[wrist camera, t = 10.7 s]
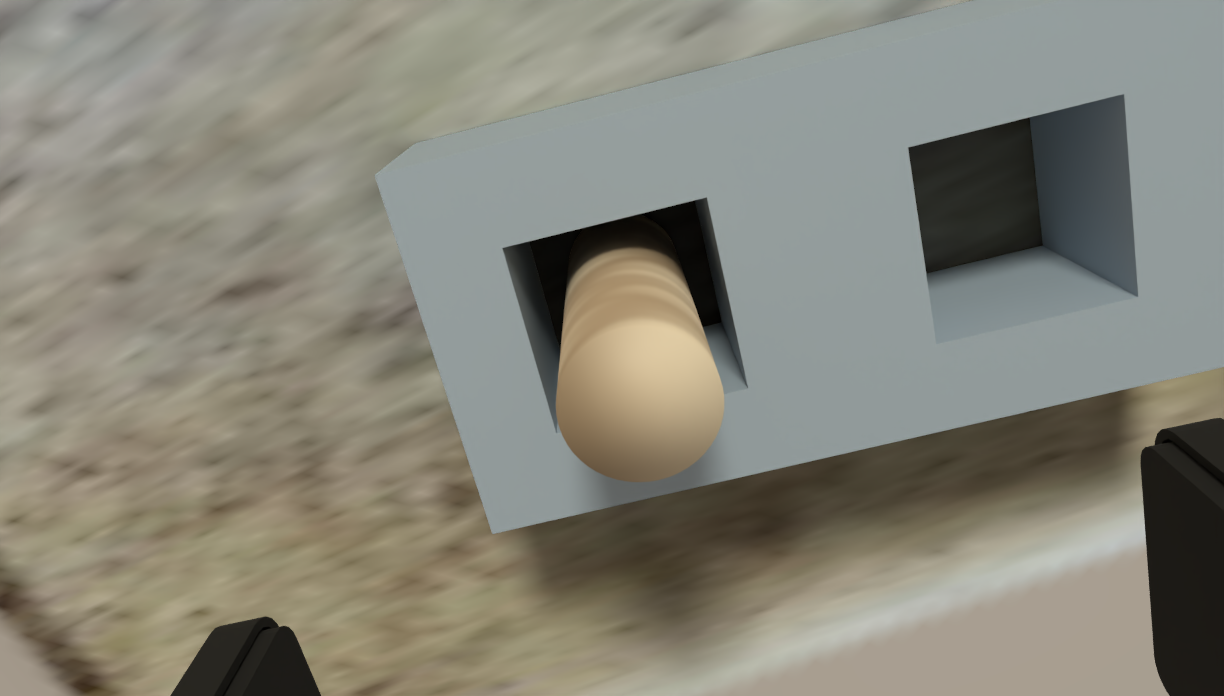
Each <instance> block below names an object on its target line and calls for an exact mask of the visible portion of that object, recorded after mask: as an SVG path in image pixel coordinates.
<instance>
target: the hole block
mask: <svg viewBox="0 0 1224 696" xmlns="http://www.w3.org/2000/svg"><path fill="white" fill-rule="evenodd" d="M1029 117H1030V126H1031V135H1032V145H1033V155H1034V165H1035V175H1036V184H1037V194H1038V204H1039V214H1040V224H1041V234H1042V243H1043V246H1039V247H1035V248H1030V249H1026V250H1022V251H1018V252H1014V253H1009V254H1005V255H1001V256H997V257H993V258H989V259H984V260H980V261H976V262H972V263H968V264H964V265H959V266H955V267H951V268H947V269H943V270H938V271H934V272H930V273H926V268H925V261H924V255H923V248H922V241H921V234H920V227H919V220H918V213H917V206H916V199H915V192H914V185H913V178H912V171H911V165H910V158H909V151H908V147H912V146H916V145H920V144H924V143H928V142H932V141H936V140H940V139H944V138H948V137H952V136H956V135H960V134H964V133H968V132H972V131H976V130H980V129H984V128H989V127H993V126H997V125H1001V124H1005V123H1009V122H1013V121H1017V120H1021V119H1025V118H1029ZM375 178H376V181H377V184H378V187H379V190H380V193H381V196H382V199H383V202H384V205H385V208H386V211H387V214H388V218H389V221H390V224H391V227H392V230H393V233H394V236H395V239H396V242H397V245H398V248H399V251H400V254H401V257H402V260H403V263H404V266H405V269H406V272H407V275H408V278H409V281H410V284H411V288H412V291H413V294H414V297H415V300H416V303H417V306H418V309H419V312H420V315H421V318H422V321H423V324H424V327H425V330H426V333H427V336H428V339H429V342H430V345H431V348H432V351H433V354H434V357H435V361H436V364H437V367H438V370H439V373H440V376H441V379H442V382H443V385H444V388H445V391H446V394H447V397H448V400H449V403H450V406H451V409H452V412H453V415H454V418H455V421H456V424H457V427H458V431H459V434H460V437H461V440H462V443H463V446H464V449H465V452H466V455H467V458H468V461H469V464H470V467H471V470H472V473H473V476H474V479H475V482H476V485H477V488H478V491H479V494H480V497H481V500H482V504H483V507H484V510H485V513H486V516H487V519H488V522H489V525H490V528H491V531H492V534H495V533H499V532H504V531H508V530H512V529H517V528H521V527H526V526H530V525H534V524H539V523H543V522H547V521H552V520H556V519H561V518H565V517H569V516H574V515H578V514H582V513H587V512H591V511H596V510H600V509H604V508H609V507H613V506H617V505H622V504H626V503H631V502H635V501H639V500H644V499H648V498H652V497H657V496H661V495H665V494H670V493H674V492H679V491H683V490H687V489H692V488H696V487H700V486H705V485H709V484H714V483H718V482H722V481H727V480H731V479H735V478H740V477H744V476H749V475H753V474H757V473H762V472H766V471H770V470H775V469H779V468H784V467H788V466H792V465H797V464H801V463H805V462H810V461H814V460H819V459H823V458H827V457H832V456H836V455H840V454H845V453H849V452H854V451H858V450H862V449H867V448H871V447H875V446H880V445H884V444H889V443H893V442H897V441H902V440H906V439H910V438H915V437H919V436H924V435H928V434H932V433H937V432H941V431H945V430H950V429H954V428H959V427H963V426H967V425H972V424H976V423H980V422H985V421H989V420H994V419H998V418H1002V417H1007V416H1011V415H1015V414H1020V413H1024V412H1028V411H1033V410H1037V409H1042V408H1046V407H1050V406H1055V405H1059V404H1063V403H1068V402H1072V401H1077V400H1081V399H1085V398H1090V397H1094V396H1098V395H1103V394H1107V393H1112V392H1116V391H1120V390H1125V389H1129V388H1133V387H1138V386H1142V385H1147V384H1151V383H1155V382H1160V381H1164V380H1168V379H1173V378H1177V377H1182V376H1186V375H1190V374H1195V373H1199V372H1203V371H1208V370H1212V369H1217V368H1221V367H1224V0H972V1H968V2H964V3H961V4H957V5H953V6H949V7H945V8H941V9H937V10H933V11H929V12H925V13H922V14H918V15H914V16H910V17H906V18H902V19H898V20H894V21H890V22H886V23H883V24H879V25H875V26H871V27H867V28H863V29H859V30H855V31H851V32H847V33H844V34H840V35H836V36H832V37H828V38H824V39H820V40H816V41H812V42H808V43H805V44H801V45H797V46H793V47H789V48H785V49H781V50H777V51H773V52H769V53H766V54H762V55H758V56H754V57H750V58H746V59H742V60H738V61H734V62H730V63H727V64H723V65H719V66H715V67H711V68H707V69H703V70H699V71H695V72H691V73H688V74H684V75H680V76H676V77H672V78H668V79H664V80H660V81H656V82H653V83H649V84H645V85H641V86H637V87H633V88H629V89H625V90H621V91H617V92H614V93H610V94H606V95H602V96H598V97H594V98H590V99H586V100H582V101H578V102H575V103H571V104H567V105H563V106H559V107H555V108H551V109H547V110H543V111H539V112H536V113H532V114H528V115H524V116H520V117H516V118H512V119H508V120H504V121H500V122H497V123H493V124H489V125H485V126H481V127H477V128H473V129H469V130H465V131H461V132H458V133H454V134H450V135H446V136H442V137H438V138H434V139H430V140H426V141H422V142H419V143H415V144H414V145H412V146H411V147H410V148H408V149H407V150H406V151H405V152H403V153H402V154H401V155H400V156H398V157H397V158H396V159H394V160H393V161H392V162H391V163H389V164H388V165H387V166H385V167H384V168H383V169H382V170H380V171H379V172H378V173H377V174H375ZM694 200H695V203H696V208H697V212H698V217H699V222H700V226H701V231H702V235H703V240H704V244H705V249H706V253H707V258H708V262H709V267H710V271H711V276H712V280H713V285H714V289H715V294H716V299H717V303H718V308H719V312H720V317H721V321H722V322H721V323H717V324H713V325H709V326H704V327H703V330H704V333H705V336H706V339H707V342H708V344H709V347H710V350H711V353H712V356H713V359H714V362H715V365H716V367H717V370H718V373H719V376H720V379H721V383H722V386H723V391H724V414H723V420H722V423H721V427H720V429H719V432H718V434H717V436H716V438H715V440H714V441H713V443H712V445H711V446H710V447H709V449H708V450H707V451H706V452H705V454H704V455H703V456H702V457H701V458H700V459H699V460H698V461H696V462H695V463H694V464H692V465H691V466H690V467H688V468H687V469H685V470H683V471H682V472H680V473H678V474H675V475H673V476H671V477H668V478H664V479H661V480H656V481H650V482H627V481H621V480H616V479H613V478H610V477H607V476H605V475H602V474H600V473H598V472H596V471H595V470H593V469H591V468H590V467H588V466H587V465H586V464H584V463H583V462H582V461H581V460H580V459H579V458H578V457H577V456H576V455H575V454H574V453H573V452H572V451H571V449H570V448H569V446H568V445H567V443H566V441H565V440H564V438H563V436H562V433H561V431H560V428H559V425H558V420H557V416H556V395H557V384H558V373H559V362H560V348H559V345H558V341H557V338H556V334H555V331H554V327H553V324H552V320H551V317H550V313H549V309H548V306H547V302H546V299H545V295H544V292H543V288H542V285H541V281H540V278H539V274H538V270H537V267H536V263H535V260H534V256H533V253H532V249H531V246H530V242H529V241H533V240H537V239H541V238H545V237H549V236H553V235H557V234H561V233H565V232H569V231H573V230H577V229H581V228H585V227H589V226H593V225H597V224H601V223H605V222H609V221H613V220H617V219H621V218H625V217H629V216H634V215H638V214H642V213H646V212H650V211H654V210H658V209H662V208H666V207H670V206H674V205H678V204H682V203H686V202H690V201H694Z"/></svg>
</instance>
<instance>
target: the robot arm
mask: <svg viewBox="0 0 1224 696" xmlns="http://www.w3.org/2000/svg"><path fill="white" fill-rule="evenodd" d="M1141 475H1142V489H1143V504H1144V518H1145V532H1146V546H1147V560H1148V573H1149V588H1150V602H1151V617H1152V631H1153V645H1154V657H1155V663H1156V667H1157V670H1158V674H1159V676H1160V679H1161V681H1162V683H1163V685H1164V687H1165V689H1166V691H1167V692H1168V694H1169V695H1170V696H1224V419H1222V418H1215V419H1210V420H1205V421H1200V422H1195V423H1191V424H1186V425H1181V426H1176V427H1171V428H1167V429H1162V430H1161V431H1160V432H1159V433H1158V434H1157V436H1156V440H1155V445H1154V446H1149V447H1145V448H1144V449H1143V450H1142V453H1141ZM171 696H321V694H320V692H319V690H318V687H317V685H316V683H315V680H314V678H313V676H312V673H311V671H310V669H309V666H308V664H307V662H306V659H305V657H304V655H303V652H302V650H301V647H300V645H299V643H298V640H297V638H296V636H295V634H294V632H293V631H292V630H291V629H290V628H289V627H287V626H281V627H279V626H278V624H277V623H276V622H275V621H274V620H273V619H272V618H269V617H261V618H257V619H252V620H247V621H242V622H237V623H233V624H228V625H223V626H220V627H217V628H215V629H214V630H213V631H212V632H211V634H210V635H209V637H208V638H207V640H206V641H205V643H204V644H203V646H202V647H201V649H200V651H199V652H198V654H197V655H196V657H195V658H194V660H193V661H192V663H191V665H190V666H189V668H188V669H187V671H186V672H185V674H184V675H183V677H182V679H181V680H180V682H179V683H178V685H177V686H176V688H175V689H174V691H173V692H172V694H171Z"/></svg>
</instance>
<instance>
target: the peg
mask: <svg viewBox="0 0 1224 696" xmlns="http://www.w3.org/2000/svg"><path fill="white" fill-rule="evenodd" d="M723 414H724V391H723V386H722V383H721V379H720V376H719V373H718V370H717V367H716V365H715V362H714V359H713V356H712V353H711V350H710V347H709V344H708V342H707V339H706V336H705V333H704V330H703V327H702V324H701V321H700V319H699V316H698V313H697V310H696V307H695V304H694V301H693V298H692V296H691V293H690V290H689V287H688V284H687V281H686V278H685V275H684V273H683V270H682V267H681V264H680V261H679V258H678V255H677V252H676V250H675V247H674V245H673V242H672V240H671V239H670V237H669V235H668V234H667V233H666V232H665V230H664V229H663V228H662V227H661V226H659V225H658V224H657V223H656V222H654V221H653V220H651V219H649V218H647V217H645V216H642V215H639V214H638V215H634V216H629V217H625V218H621V219H617V220H613V221H609V222H605V223H601V224H597V225H593V226H589V227H585V228H584V229H583V230H582V231H581V232H580V234H579V235H578V237H577V238H576V240H575V242H574V244H573V246H572V249H571V251H570V256H569V263H568V274H567V285H566V296H565V307H564V318H563V329H562V340H561V351H560V362H559V373H558V384H557V395H556V416H557V420H558V425H559V428H560V431H561V433H562V436H563V438H564V440H565V441H566V443H567V445H568V446H569V448H570V449H571V451H572V452H573V453H574V454H575V455H576V456H577V457H578V458H579V459H580V460H581V461H582V462H583V463H584V464H586V465H587V466H588V467H590V468H591V469H593V470H595V471H596V472H598V473H600V474H602V475H605V476H607V477H610V478H613V479H616V480H621V481H627V482H650V481H656V480H661V479H664V478H668V477H671V476H673V475H675V474H678V473H680V472H682V471H683V470H685V469H687V468H688V467H690V466H691V465H692V464H694V463H695V462H696V461H698V460H699V459H700V458H701V457H702V456H703V455H704V454H705V452H706V451H707V450H708V449H709V447H710V446H711V445H712V443H713V441H714V440H715V438H716V436H717V434H718V432H719V429H720V427H721V423H722V420H723Z"/></svg>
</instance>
